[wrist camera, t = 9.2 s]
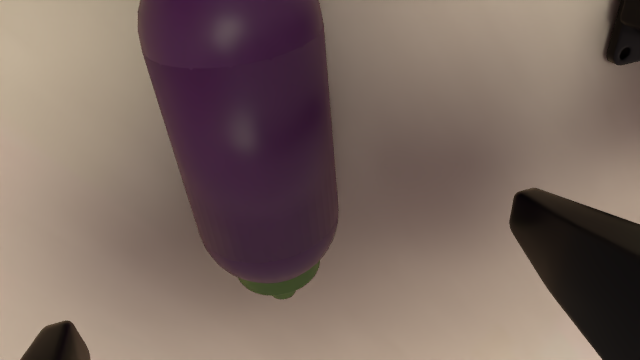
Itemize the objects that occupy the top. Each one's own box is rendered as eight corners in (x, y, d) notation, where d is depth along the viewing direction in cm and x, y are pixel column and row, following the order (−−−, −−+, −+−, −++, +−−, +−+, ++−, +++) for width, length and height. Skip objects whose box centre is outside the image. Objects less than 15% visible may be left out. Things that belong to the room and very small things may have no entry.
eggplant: (112, -68, 12) (105, -33, 9) (286, -92, 13) (344, -69, 10) (214, 265, 19) (232, 360, 16) (322, 234, 20) (363, 318, 17)
